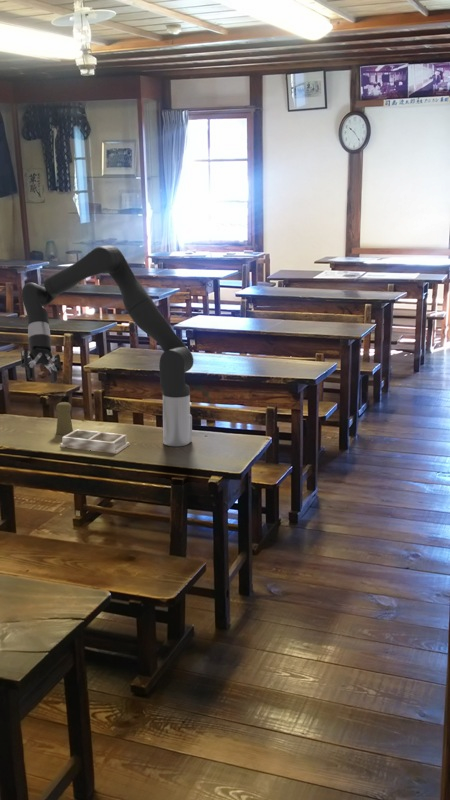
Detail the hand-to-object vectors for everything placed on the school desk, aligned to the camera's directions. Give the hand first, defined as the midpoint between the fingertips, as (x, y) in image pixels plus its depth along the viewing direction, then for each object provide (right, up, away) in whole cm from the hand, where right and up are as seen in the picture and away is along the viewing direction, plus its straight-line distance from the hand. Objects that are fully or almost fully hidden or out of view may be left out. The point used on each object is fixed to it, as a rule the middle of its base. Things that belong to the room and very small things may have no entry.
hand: (42, 381), depth 271 cm
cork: (+5, -18, +12) cm, 22 cm away
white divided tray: (+18, -22, -3) cm, 29 cm away
